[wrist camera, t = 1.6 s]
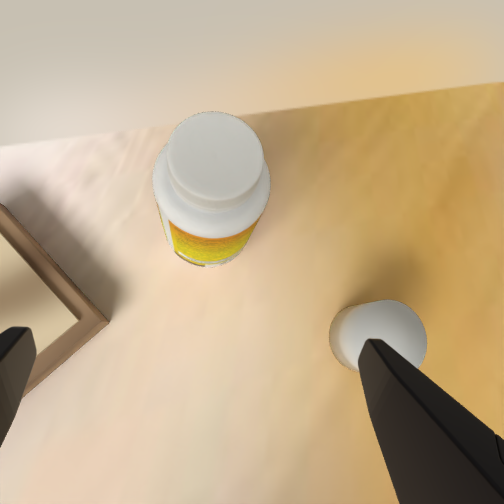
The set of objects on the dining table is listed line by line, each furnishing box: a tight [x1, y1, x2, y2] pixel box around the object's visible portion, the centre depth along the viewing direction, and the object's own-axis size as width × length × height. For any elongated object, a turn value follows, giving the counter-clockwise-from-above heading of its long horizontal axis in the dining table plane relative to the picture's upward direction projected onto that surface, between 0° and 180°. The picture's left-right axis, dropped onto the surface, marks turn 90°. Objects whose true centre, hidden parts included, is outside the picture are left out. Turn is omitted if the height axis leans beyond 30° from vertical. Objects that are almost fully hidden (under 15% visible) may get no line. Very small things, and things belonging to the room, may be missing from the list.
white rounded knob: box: [329, 300, 427, 372], centre depth 22 cm, size 4×4×4 cm
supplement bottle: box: [152, 112, 271, 267], centre depth 19 cm, size 6×6×10 cm
